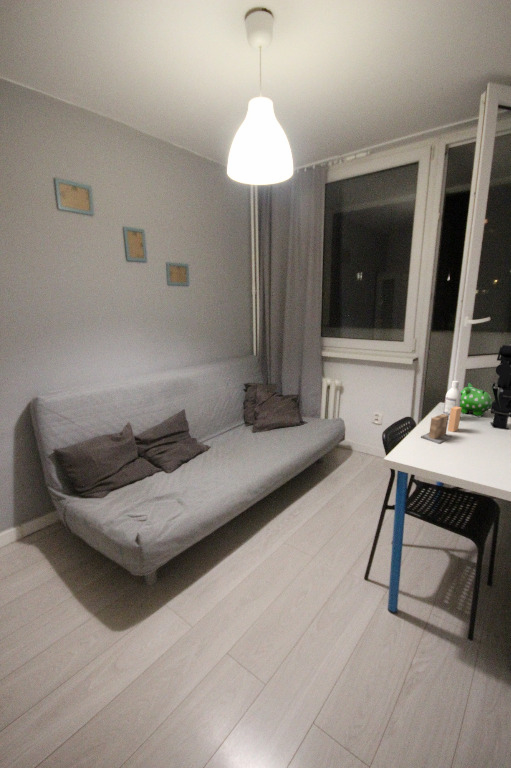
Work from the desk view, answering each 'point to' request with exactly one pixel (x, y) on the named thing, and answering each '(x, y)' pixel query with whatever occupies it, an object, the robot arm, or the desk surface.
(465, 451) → the desk surface
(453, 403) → the bath foam
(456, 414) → the block
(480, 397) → the piggy bank
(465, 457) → the desk surface
